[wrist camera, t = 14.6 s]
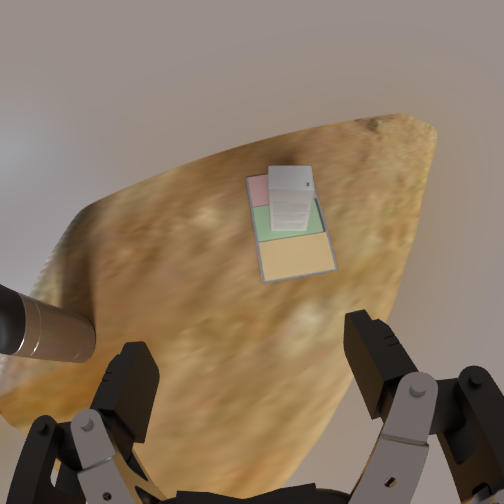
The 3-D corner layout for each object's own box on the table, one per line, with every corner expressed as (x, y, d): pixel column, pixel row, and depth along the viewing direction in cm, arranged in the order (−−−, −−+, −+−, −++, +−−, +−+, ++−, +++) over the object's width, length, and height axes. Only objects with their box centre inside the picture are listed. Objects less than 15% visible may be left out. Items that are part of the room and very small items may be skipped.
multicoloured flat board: (262, 283, 43) (262, 282, 42) (245, 179, 50) (245, 176, 49) (337, 270, 42) (338, 269, 42) (308, 170, 50) (309, 168, 49)
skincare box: (305, 209, 46) (313, 164, 35) (306, 231, 44) (315, 191, 33) (270, 208, 46) (267, 164, 35) (269, 231, 45) (267, 190, 34)
